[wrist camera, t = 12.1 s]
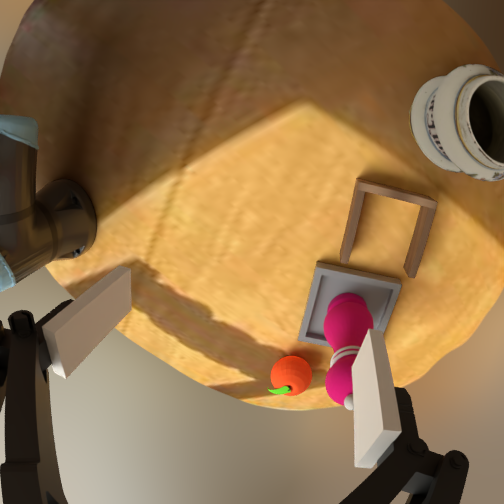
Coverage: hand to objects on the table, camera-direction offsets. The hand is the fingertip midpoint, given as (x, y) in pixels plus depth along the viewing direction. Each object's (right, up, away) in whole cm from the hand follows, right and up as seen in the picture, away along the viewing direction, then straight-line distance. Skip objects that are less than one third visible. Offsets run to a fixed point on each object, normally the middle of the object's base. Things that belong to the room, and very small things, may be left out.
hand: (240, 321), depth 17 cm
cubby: (+19, +7, +26) cm, 33 cm away
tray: (+15, -5, +32) cm, 36 cm away
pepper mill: (+15, -5, +31) cm, 35 cm away
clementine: (+7, -16, +38) cm, 42 cm away
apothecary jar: (+26, +21, +19) cm, 39 cm away
